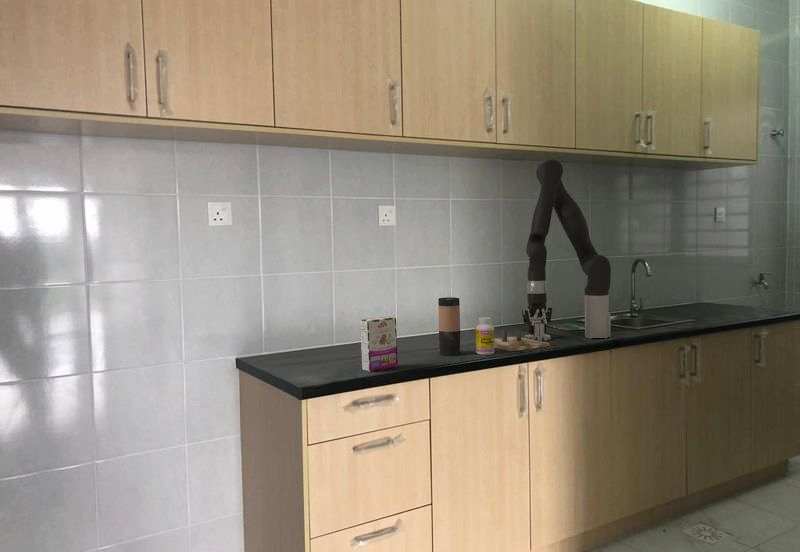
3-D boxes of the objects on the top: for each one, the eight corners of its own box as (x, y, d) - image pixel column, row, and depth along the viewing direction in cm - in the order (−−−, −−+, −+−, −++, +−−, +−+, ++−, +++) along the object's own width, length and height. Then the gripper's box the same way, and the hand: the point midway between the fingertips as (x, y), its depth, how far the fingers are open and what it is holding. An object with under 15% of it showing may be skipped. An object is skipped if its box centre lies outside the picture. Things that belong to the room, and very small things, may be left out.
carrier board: (514, 339, 258) (514, 324, 257) (549, 346, 239) (549, 331, 239) (477, 343, 249) (477, 328, 249) (510, 351, 231) (510, 335, 230)
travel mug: (464, 353, 229) (463, 297, 228) (454, 356, 223) (452, 299, 221) (446, 351, 233) (444, 297, 232) (435, 355, 227) (434, 299, 226)
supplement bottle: (479, 355, 224) (478, 319, 223) (473, 352, 230) (472, 317, 229) (497, 354, 225) (496, 318, 224) (490, 351, 231) (490, 316, 231)
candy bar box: (389, 365, 211) (388, 315, 210) (398, 367, 207) (397, 317, 206) (360, 370, 204) (359, 319, 203) (369, 372, 200) (368, 320, 199)
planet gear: (539, 336, 263) (539, 321, 262) (555, 339, 254) (555, 323, 253) (519, 338, 258) (519, 323, 258) (535, 341, 249) (535, 325, 249)
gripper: (544, 290, 261) (545, 331, 262) (516, 292, 255) (517, 334, 256) (557, 291, 255) (557, 333, 256) (528, 293, 248) (529, 336, 249)
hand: (537, 333), depth 256 cm, fingers closed on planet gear, 5 cm apart
